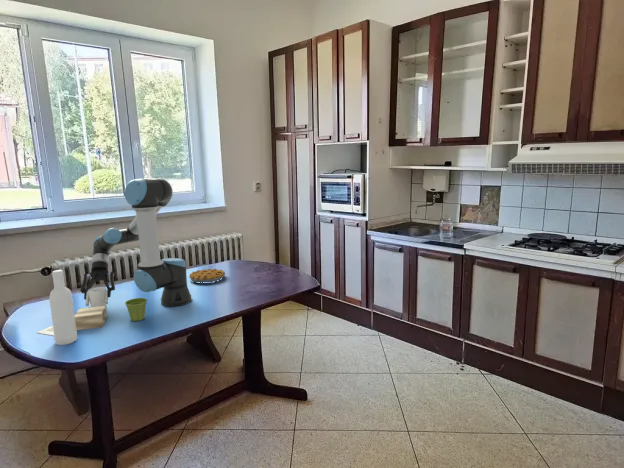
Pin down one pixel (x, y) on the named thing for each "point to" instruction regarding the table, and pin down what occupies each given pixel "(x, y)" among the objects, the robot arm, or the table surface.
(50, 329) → the page
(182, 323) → the table surface
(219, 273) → the pie
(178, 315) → the table surface
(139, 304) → the plant pot
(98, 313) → the beech block
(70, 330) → the bottle
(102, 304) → the white cup
